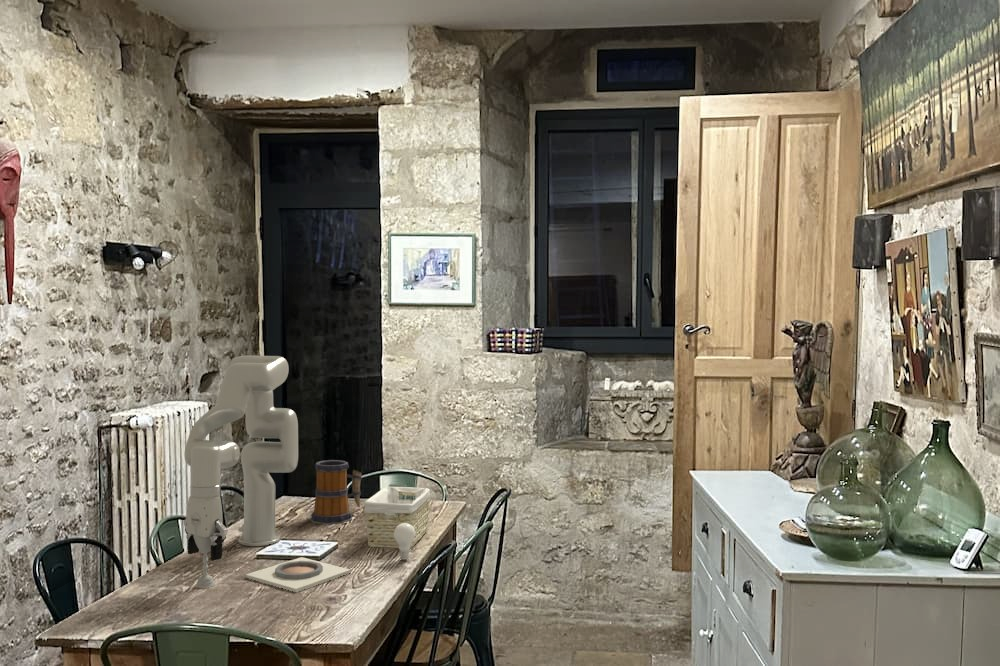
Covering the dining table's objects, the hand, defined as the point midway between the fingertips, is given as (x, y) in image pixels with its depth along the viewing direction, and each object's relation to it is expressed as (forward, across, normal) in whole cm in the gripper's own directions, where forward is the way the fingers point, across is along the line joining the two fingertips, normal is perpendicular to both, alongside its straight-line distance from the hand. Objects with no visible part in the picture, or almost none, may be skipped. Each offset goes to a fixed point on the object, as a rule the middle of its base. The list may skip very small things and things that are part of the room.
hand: (204, 556), depth 217 cm
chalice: (+8, 0, 0) cm, 8 cm away
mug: (+7, -24, +72) cm, 77 cm away
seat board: (+8, +14, +20) cm, 26 cm away
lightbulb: (+8, +28, +48) cm, 56 cm away
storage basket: (+7, +11, +65) cm, 66 cm away
